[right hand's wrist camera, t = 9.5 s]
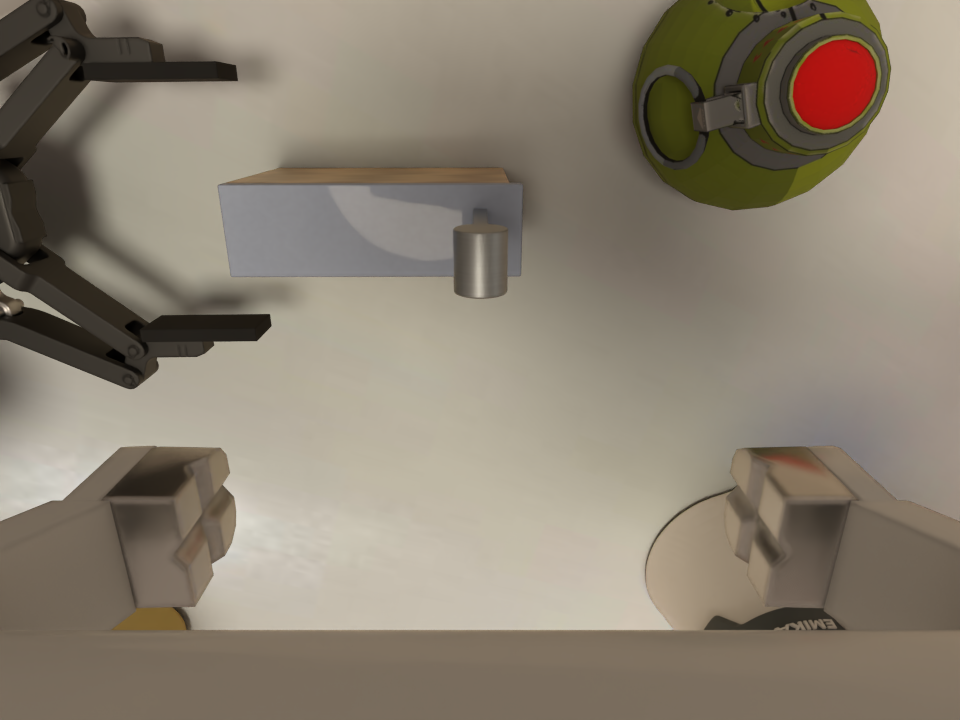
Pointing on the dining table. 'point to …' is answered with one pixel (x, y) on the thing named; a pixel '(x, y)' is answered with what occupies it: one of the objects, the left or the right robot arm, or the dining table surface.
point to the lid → (376, 231)
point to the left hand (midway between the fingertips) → (247, 208)
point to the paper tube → (153, 620)
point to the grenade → (757, 95)
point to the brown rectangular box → (378, 175)
